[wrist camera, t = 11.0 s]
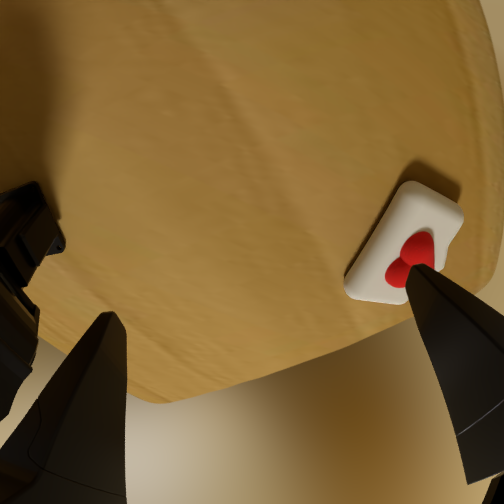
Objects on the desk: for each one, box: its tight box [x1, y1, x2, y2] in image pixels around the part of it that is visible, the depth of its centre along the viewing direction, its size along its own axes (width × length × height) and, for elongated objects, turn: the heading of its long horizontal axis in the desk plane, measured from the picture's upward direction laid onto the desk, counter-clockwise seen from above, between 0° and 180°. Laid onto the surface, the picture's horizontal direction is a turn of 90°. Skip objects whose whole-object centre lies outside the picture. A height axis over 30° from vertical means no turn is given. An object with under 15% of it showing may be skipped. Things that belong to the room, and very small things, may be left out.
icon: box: [344, 181, 464, 305], centre depth 24 cm, size 12×4×10 cm
